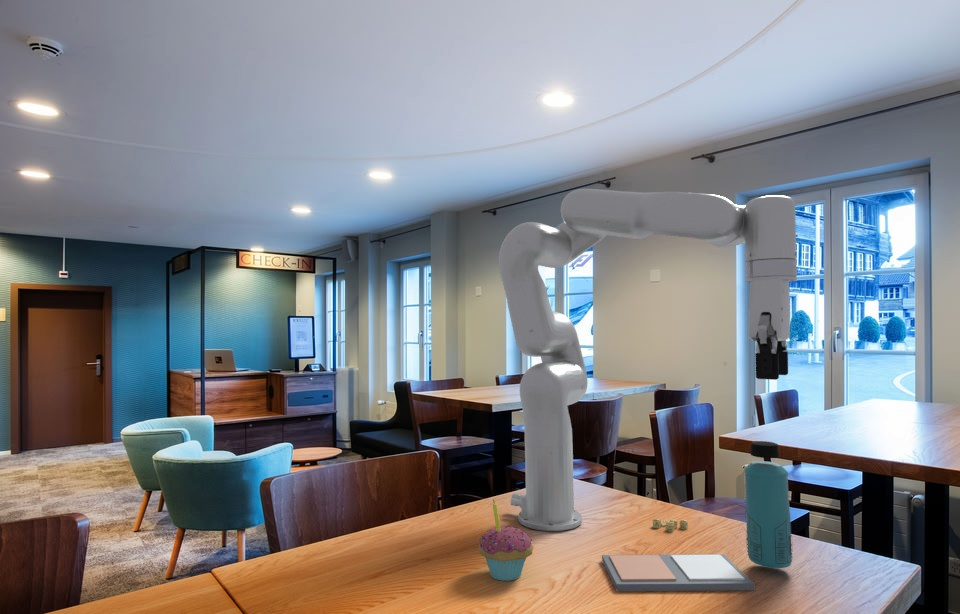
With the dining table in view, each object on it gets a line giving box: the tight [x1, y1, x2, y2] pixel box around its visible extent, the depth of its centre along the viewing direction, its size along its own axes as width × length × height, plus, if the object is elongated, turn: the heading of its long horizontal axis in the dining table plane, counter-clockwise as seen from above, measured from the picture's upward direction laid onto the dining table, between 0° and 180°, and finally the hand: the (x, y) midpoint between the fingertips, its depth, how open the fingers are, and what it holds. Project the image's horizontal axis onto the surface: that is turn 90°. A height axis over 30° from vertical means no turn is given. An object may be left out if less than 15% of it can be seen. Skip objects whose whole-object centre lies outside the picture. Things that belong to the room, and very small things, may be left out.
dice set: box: [652, 518, 689, 533], centre depth 111 cm, size 5×5×2 cm
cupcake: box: [478, 498, 534, 582], centre depth 91 cm, size 9×8×12 cm
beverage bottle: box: [743, 440, 794, 569], centre depth 92 cm, size 6×7×20 cm
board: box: [601, 553, 756, 592], centre depth 90 cm, size 20×11×1 cm, turn 89°
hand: (772, 376), depth 95 cm, fingers open, 9 cm apart
